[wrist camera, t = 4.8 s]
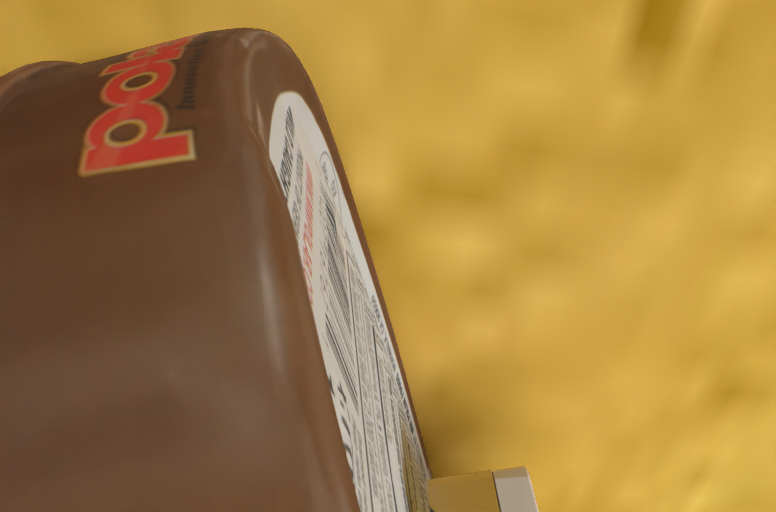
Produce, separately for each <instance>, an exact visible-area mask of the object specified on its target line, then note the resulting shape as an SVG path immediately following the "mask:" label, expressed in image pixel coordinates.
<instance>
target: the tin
mask: <svg viewBox="0 0 776 512" xmlns="http://www.w3.org/2000/svg"><path fill="white" fill-rule="evenodd" d="M429 479H433V477H432V473H431V469H430V465H429V462H428V458H427V455H426V451H425V447H424V444H423V440H422V436H421V432H420V428H419V425H418V421H417V417H416V413H415V409H414V405H413V402H412V398H411V394H410V390H409V386H408V382H407V379H406V375H405V371H404V367H403V364H402V360H401V357H400V353H399V349H398V346H397V342H396V339H395V335H394V332H393V328H392V324H391V321H390V318H389V314H388V311H387V308H386V304H385V301H384V297H383V294H382V291H381V287H380V284H379V281H378V277H377V274H376V270H375V267H374V264H373V261H372V257H371V254H370V251H369V248H368V244H367V241H366V238H365V235H364V231H363V228H362V225H361V221H360V218H359V215H358V212H357V208H356V205H355V202H354V199H353V195H352V192H351V189H350V186H349V183H348V180H347V177H346V174H345V170H344V167H343V164H342V161H341V159H340V156H339V153H338V150H337V147H336V144H335V141H334V138H333V135H332V132H331V129H330V127H329V124H328V121H327V118H326V115H325V113H324V110H323V107H322V105H321V102H320V100H319V98H318V96H317V93H316V91H315V89H314V86H313V84H312V82H311V80H310V78H309V76H308V74H307V72H306V70H305V69H304V67H303V65H302V63H301V62H300V60H299V58H298V57H297V56H296V54H295V53H294V51H293V50H292V49H291V47H290V46H289V45H288V44H287V43H286V42H285V41H283V40H282V39H281V38H280V37H279V36H277V35H275V34H273V33H271V32H269V31H266V30H261V29H253V28H235V29H226V30H218V31H211V32H204V33H200V34H196V35H192V36H188V37H184V38H180V39H176V40H173V41H169V42H165V43H161V44H157V45H153V46H150V47H146V48H142V49H139V50H135V51H131V52H128V53H124V54H120V55H116V56H113V57H109V58H105V59H100V60H96V61H92V62H87V63H83V64H79V63H73V62H63V61H41V62H37V63H32V64H27V65H25V66H22V67H20V68H18V69H15V70H13V71H11V72H9V73H7V74H5V75H3V76H2V77H0V512H430V507H429V498H428V487H427V480H429Z"/></svg>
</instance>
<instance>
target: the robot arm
mask: <svg viewBox="0 0 776 512" xmlns="http://www.w3.org/2000/svg"><path fill="white" fill-rule="evenodd" d="M427 487H428V498H429V507H430V512H539V510H538V506H537V502H536V498H535V495H534V491H533V487H532V483H531V479H530V475H529V472H528V471H527V469H526V468H525V466H521V467H515V468H509V469H502V470H496V471H492V472H491V470H488V471H481V472H474V473H468V474H461V475H455V476H448V477H442V478H435V479H429V480H427Z"/></svg>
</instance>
